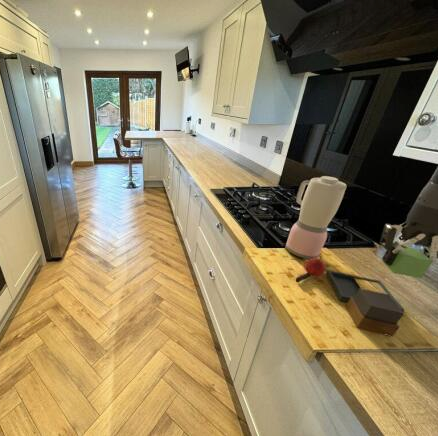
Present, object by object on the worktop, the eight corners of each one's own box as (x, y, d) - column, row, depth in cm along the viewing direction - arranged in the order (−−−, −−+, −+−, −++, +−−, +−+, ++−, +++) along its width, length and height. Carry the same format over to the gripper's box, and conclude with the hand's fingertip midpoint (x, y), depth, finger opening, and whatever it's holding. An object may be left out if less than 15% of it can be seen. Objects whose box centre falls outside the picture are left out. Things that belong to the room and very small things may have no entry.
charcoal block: (382, 305, 67) (389, 294, 66) (396, 324, 62) (404, 313, 60) (353, 298, 69) (359, 288, 68) (364, 316, 63) (371, 305, 62)
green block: (407, 265, 61) (417, 248, 59) (421, 278, 56) (433, 261, 54) (381, 260, 62) (390, 244, 60) (392, 273, 58) (403, 256, 55)
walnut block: (376, 314, 70) (383, 304, 68) (392, 336, 63) (399, 326, 61) (345, 306, 72) (350, 297, 70) (356, 327, 65) (363, 317, 63)
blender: (325, 258, 95) (360, 182, 81) (304, 264, 91) (336, 184, 77) (291, 239, 108) (316, 170, 94) (271, 243, 104) (294, 172, 90)
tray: (377, 285, 81) (380, 280, 80) (400, 315, 70) (404, 310, 69) (325, 274, 85) (327, 270, 85) (339, 301, 74) (342, 295, 73)
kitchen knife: (297, 283, 80) (299, 278, 79) (294, 281, 81) (296, 277, 80) (327, 269, 88) (329, 265, 87) (324, 267, 89) (326, 263, 88)
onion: (322, 283, 81) (331, 264, 78) (303, 278, 83) (311, 260, 79) (318, 273, 86) (326, 255, 83) (300, 269, 88) (307, 251, 84)
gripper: (410, 205, 50) (374, 268, 58) (502, 216, 46) (450, 283, 54) (390, 194, 57) (360, 252, 64) (470, 203, 53) (427, 264, 60)
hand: (401, 266), depth 59 cm, fingers closed on green block, 5 cm apart
